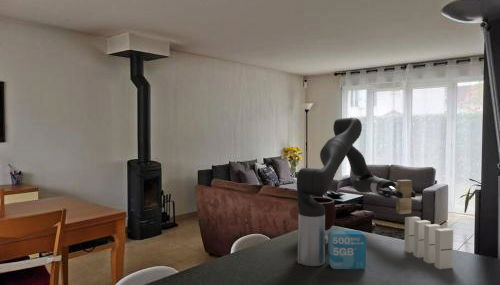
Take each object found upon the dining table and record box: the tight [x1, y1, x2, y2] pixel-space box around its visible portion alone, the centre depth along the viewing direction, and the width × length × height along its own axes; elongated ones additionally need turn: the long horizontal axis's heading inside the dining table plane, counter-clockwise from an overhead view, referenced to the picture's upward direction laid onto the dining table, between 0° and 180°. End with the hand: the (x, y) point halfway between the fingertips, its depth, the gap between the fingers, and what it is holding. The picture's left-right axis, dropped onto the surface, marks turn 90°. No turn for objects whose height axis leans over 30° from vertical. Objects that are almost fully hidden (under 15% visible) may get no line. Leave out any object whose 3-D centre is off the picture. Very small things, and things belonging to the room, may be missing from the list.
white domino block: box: [423, 223, 442, 264], centre depth 132 cm, size 2×5×13 cm, turn 103°
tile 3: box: [413, 219, 431, 259], centre depth 138 cm, size 2×5×13 cm, turn 103°
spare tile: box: [395, 179, 413, 215], centre depth 148 cm, size 2×5×13 cm, turn 103°
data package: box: [327, 229, 367, 270], centre depth 128 cm, size 12×4×12 cm, turn 88°
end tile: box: [434, 227, 454, 270], centre depth 127 cm, size 2×5×13 cm, turn 103°
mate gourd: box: [311, 195, 337, 246], centre depth 157 cm, size 16×14×20 cm
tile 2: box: [403, 216, 422, 254], centre depth 143 cm, size 2×5×13 cm, turn 103°
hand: (408, 195), depth 145 cm, fingers closed on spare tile, 5 cm apart
